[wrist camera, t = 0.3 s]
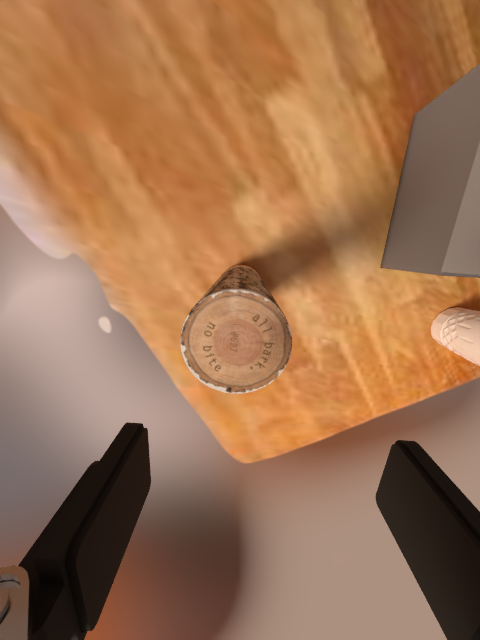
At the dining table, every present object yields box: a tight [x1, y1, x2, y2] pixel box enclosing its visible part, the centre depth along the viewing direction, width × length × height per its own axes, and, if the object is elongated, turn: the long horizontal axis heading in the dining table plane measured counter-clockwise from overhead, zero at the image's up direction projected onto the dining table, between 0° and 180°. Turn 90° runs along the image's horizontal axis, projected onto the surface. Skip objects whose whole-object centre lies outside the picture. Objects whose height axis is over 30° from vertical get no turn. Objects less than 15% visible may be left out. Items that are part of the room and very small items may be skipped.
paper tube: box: [181, 265, 292, 394], centre depth 26 cm, size 7×7×25 cm
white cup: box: [431, 307, 480, 366], centre depth 35 cm, size 8×8×10 cm
